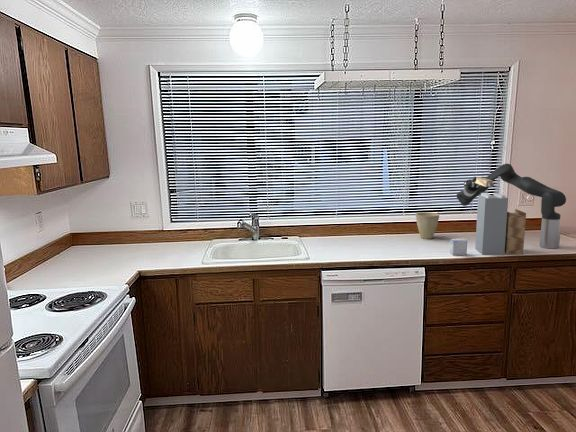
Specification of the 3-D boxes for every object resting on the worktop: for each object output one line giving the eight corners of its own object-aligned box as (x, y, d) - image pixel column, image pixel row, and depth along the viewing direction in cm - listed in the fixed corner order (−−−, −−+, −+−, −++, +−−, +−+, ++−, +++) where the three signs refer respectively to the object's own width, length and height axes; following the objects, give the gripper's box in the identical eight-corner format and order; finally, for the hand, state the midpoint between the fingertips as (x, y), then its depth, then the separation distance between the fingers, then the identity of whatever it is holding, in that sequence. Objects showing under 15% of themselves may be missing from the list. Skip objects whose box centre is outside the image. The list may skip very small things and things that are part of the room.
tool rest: (513, 248, 255) (516, 209, 251) (522, 254, 243) (526, 213, 238) (497, 248, 256) (500, 209, 252) (506, 254, 244) (509, 213, 239)
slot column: (496, 249, 254) (500, 192, 248) (504, 254, 243) (508, 195, 237) (475, 248, 256) (478, 192, 250) (482, 254, 244) (485, 195, 238)
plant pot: (443, 239, 281) (444, 215, 278) (422, 241, 278) (423, 216, 275) (430, 234, 295) (431, 211, 292) (410, 236, 292) (411, 212, 289)
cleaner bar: (479, 182, 270) (480, 177, 269) (495, 187, 245) (495, 181, 244) (473, 182, 270) (474, 177, 270) (488, 187, 245) (489, 181, 244)
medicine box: (463, 253, 248) (464, 238, 246) (466, 255, 243) (467, 240, 242) (449, 253, 248) (450, 238, 246) (452, 255, 243) (453, 240, 242)
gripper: (459, 183, 284) (466, 172, 268) (481, 183, 282) (490, 172, 266) (460, 194, 281) (468, 183, 265) (482, 194, 280) (492, 183, 264)
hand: (479, 178), depth 266 cm, fingers closed on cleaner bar, 3 cm apart
